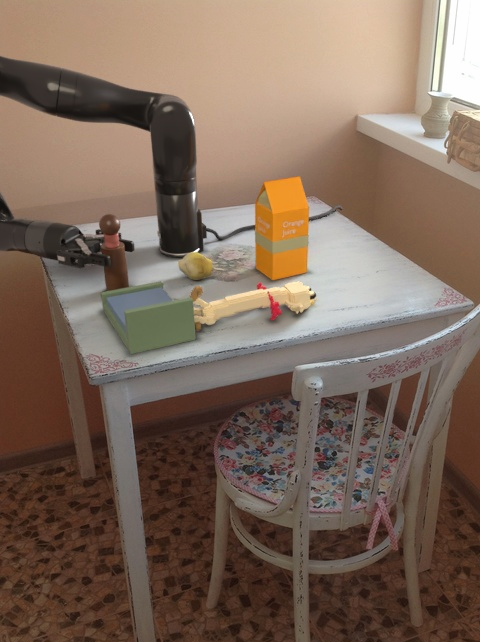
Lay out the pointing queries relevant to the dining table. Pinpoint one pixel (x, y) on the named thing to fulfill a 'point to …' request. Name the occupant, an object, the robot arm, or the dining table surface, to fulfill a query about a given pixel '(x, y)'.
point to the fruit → (196, 266)
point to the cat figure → (253, 302)
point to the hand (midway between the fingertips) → (121, 254)
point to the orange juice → (281, 228)
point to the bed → (149, 317)
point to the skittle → (113, 254)
